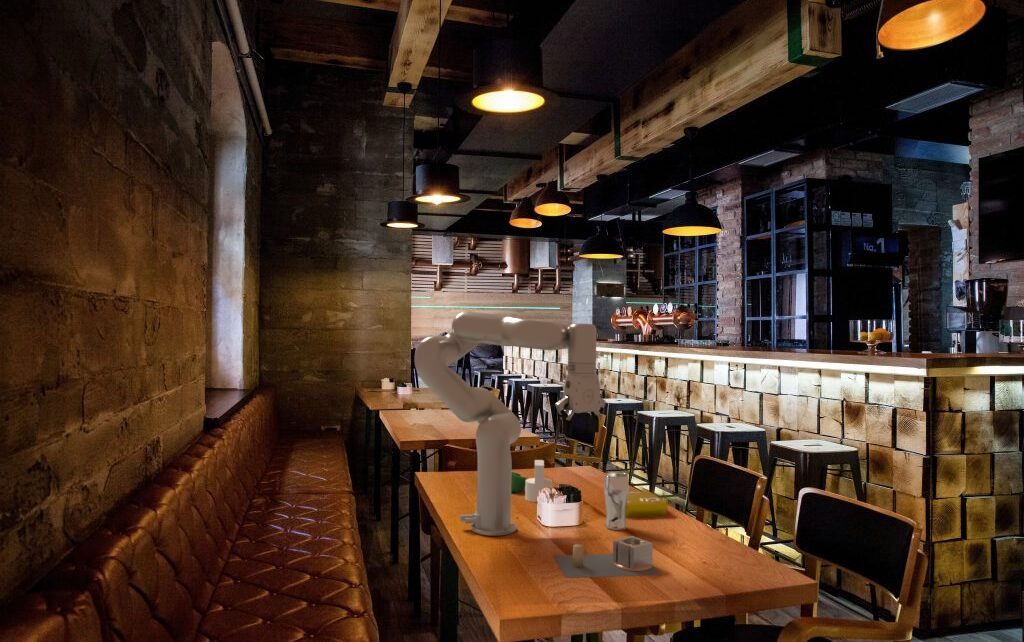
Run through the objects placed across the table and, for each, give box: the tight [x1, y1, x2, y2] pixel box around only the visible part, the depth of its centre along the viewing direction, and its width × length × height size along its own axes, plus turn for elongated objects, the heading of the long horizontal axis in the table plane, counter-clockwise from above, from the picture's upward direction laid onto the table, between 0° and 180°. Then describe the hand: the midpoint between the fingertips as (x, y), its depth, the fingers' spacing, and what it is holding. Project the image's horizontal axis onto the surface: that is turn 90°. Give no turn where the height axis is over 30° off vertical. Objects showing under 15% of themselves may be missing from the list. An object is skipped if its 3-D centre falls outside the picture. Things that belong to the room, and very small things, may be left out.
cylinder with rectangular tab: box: [524, 459, 554, 503], centre depth 213 cm, size 9×9×12 cm
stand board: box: [553, 543, 662, 579], centre depth 149 cm, size 22×14×6 cm, turn 97°
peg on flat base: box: [613, 543, 653, 571], centre depth 150 cm, size 9×9×4 cm
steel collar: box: [612, 535, 654, 570], centre depth 150 cm, size 6×6×5 cm
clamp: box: [511, 471, 529, 493], centre depth 225 cm, size 12×6×9 cm, turn 19°
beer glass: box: [603, 471, 630, 531], centre depth 183 cm, size 7×7×15 cm
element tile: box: [625, 491, 668, 518], centre depth 202 cm, size 15×15×5 cm
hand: (580, 433), depth 172 cm, fingers open, 9 cm apart
